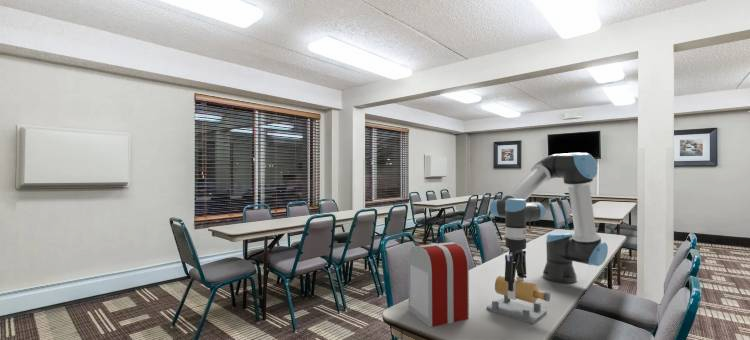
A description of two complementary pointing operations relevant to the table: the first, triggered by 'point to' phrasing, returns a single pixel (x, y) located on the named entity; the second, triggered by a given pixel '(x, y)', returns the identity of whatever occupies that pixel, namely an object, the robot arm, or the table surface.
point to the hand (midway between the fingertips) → (515, 296)
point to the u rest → (517, 310)
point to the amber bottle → (521, 290)
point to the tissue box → (439, 283)
